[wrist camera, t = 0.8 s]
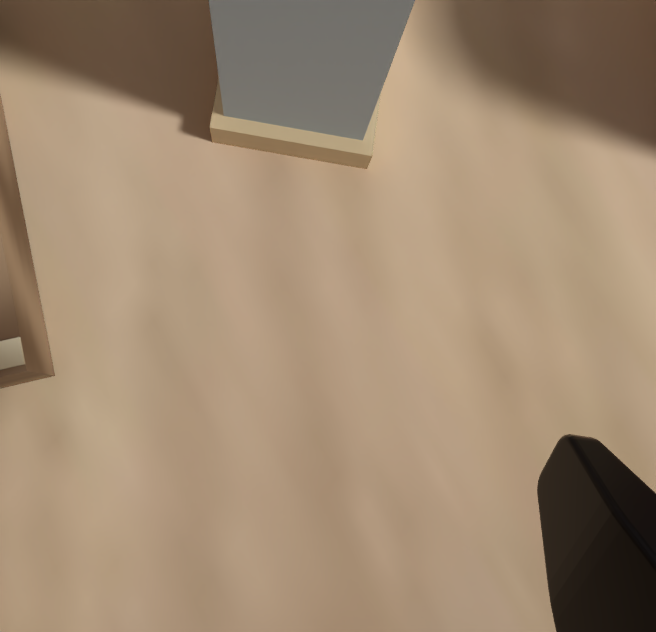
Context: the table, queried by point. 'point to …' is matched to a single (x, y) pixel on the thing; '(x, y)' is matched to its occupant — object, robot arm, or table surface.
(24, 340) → the dock
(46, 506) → the table surface
